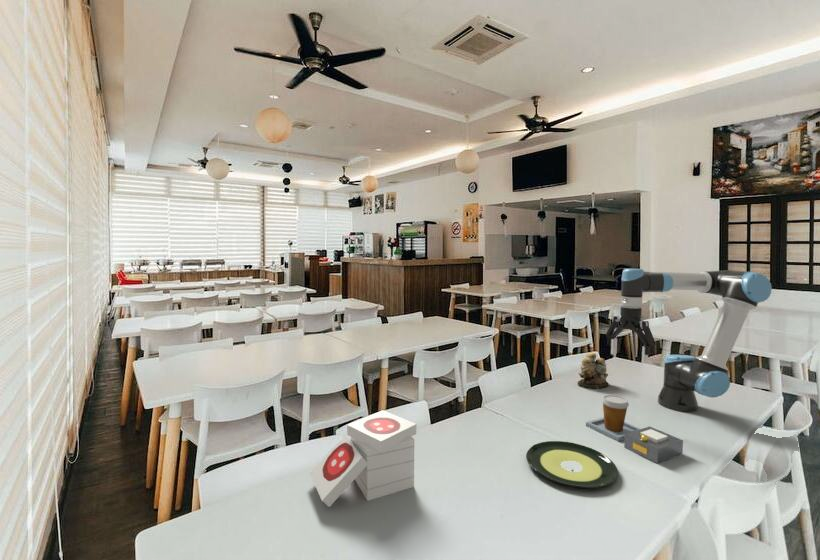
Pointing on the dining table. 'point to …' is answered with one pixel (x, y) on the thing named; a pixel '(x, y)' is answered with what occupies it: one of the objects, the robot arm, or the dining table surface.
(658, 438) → the button
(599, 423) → the tray
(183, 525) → the dining table surface
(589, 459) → the plate
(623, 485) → the dining table surface
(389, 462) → the pizza boxes
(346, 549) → the dining table surface
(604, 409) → the disposable coffee cup
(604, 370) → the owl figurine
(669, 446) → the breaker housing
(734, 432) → the dining table surface
